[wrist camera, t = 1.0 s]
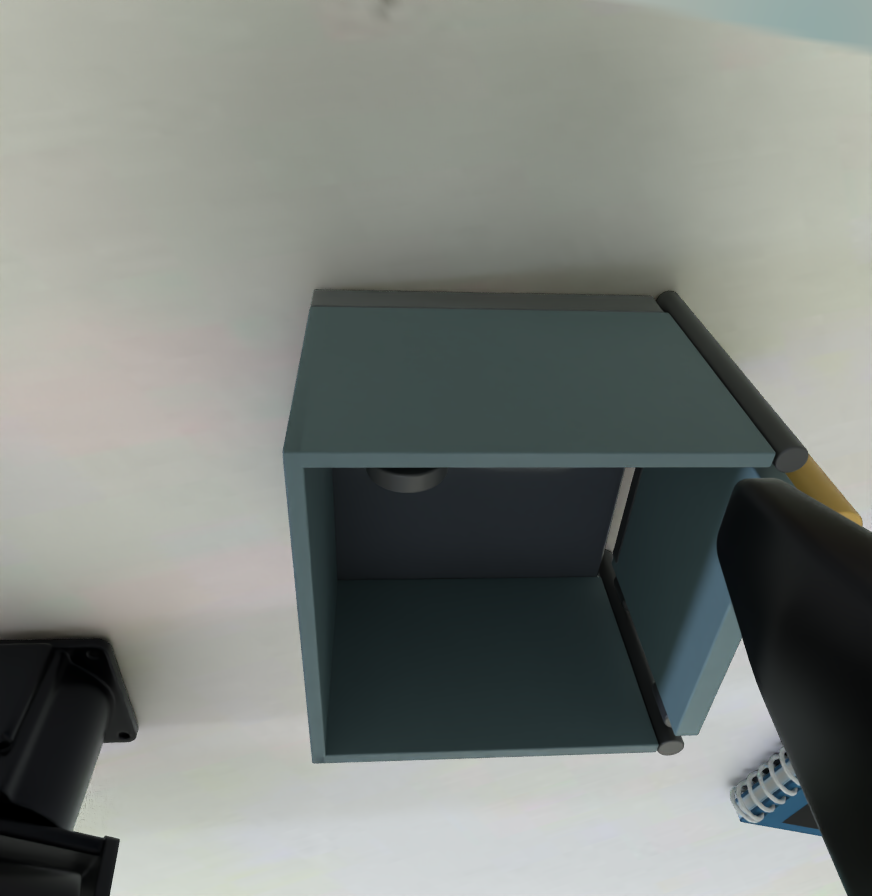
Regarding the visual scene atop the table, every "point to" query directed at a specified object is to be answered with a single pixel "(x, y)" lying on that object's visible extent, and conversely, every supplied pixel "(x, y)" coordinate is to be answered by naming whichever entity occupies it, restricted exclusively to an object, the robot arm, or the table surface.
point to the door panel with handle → (689, 577)
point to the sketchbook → (774, 798)
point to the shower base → (477, 486)
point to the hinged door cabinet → (495, 445)
